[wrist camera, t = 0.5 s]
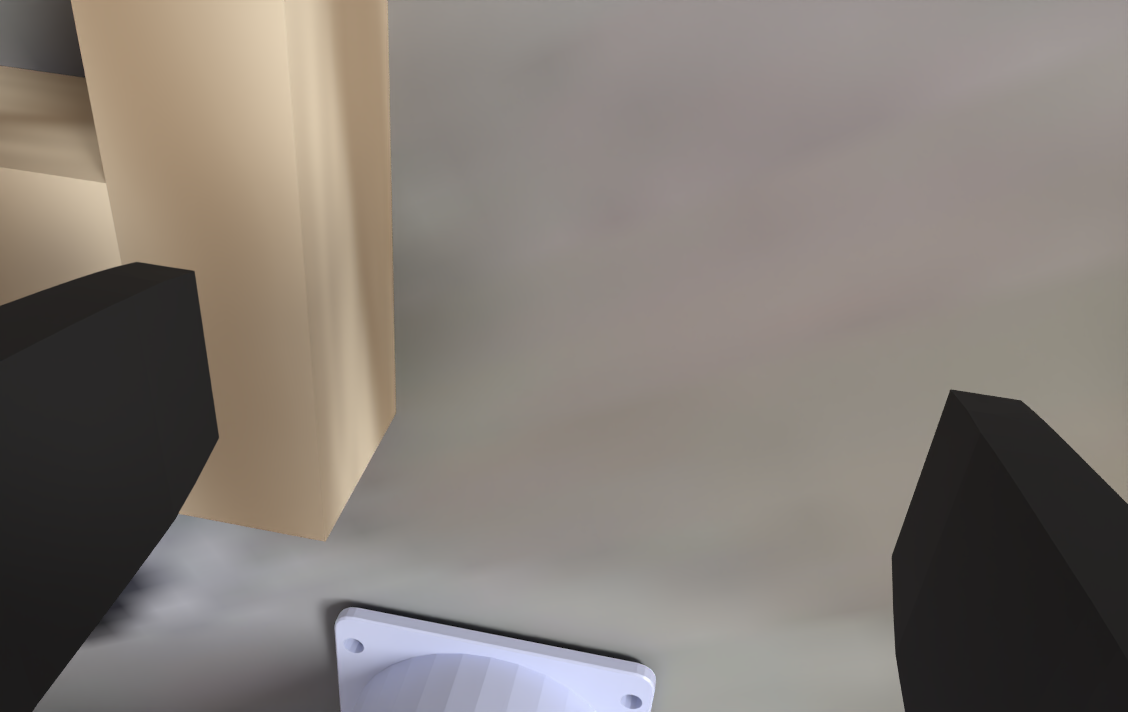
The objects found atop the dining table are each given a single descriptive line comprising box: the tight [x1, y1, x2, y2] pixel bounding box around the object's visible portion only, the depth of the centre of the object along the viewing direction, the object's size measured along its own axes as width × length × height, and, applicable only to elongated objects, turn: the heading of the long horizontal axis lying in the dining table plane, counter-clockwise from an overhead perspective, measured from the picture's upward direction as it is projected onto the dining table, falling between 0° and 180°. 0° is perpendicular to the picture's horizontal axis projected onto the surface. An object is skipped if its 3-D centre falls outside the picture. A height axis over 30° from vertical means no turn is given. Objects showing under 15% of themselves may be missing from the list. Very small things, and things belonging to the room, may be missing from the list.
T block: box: [0, 0, 396, 541], centre depth 17 cm, size 9×10×4 cm
